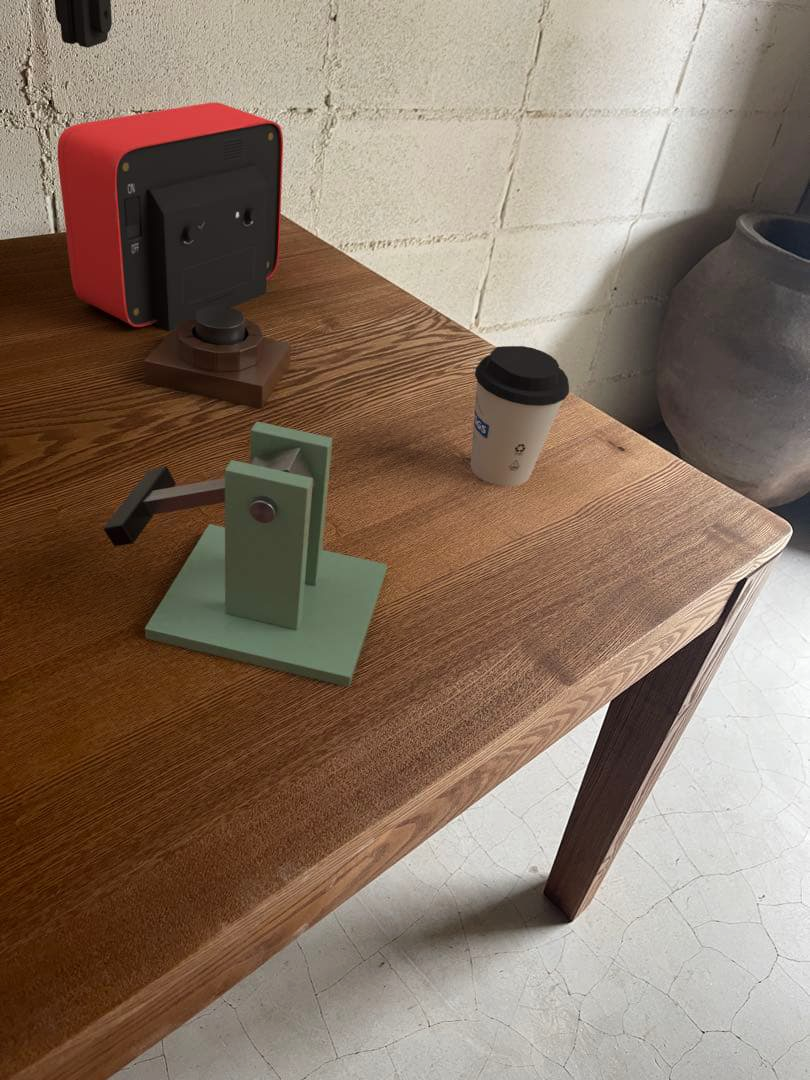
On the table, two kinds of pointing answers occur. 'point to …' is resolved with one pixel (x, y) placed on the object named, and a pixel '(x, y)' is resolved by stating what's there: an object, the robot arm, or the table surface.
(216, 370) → the button box
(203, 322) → the button
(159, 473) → the lever
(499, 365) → the coffee cup
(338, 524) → the table surface
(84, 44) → the robot arm
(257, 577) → the bracket
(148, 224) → the alarm clock
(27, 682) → the table surface
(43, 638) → the table surface
